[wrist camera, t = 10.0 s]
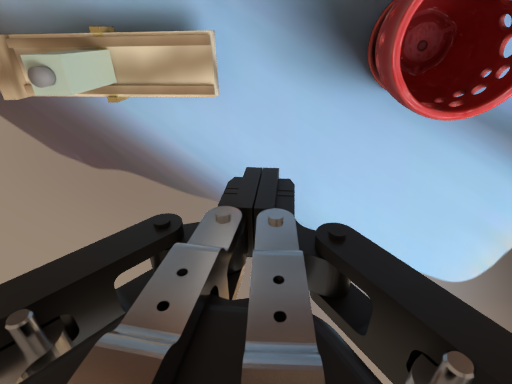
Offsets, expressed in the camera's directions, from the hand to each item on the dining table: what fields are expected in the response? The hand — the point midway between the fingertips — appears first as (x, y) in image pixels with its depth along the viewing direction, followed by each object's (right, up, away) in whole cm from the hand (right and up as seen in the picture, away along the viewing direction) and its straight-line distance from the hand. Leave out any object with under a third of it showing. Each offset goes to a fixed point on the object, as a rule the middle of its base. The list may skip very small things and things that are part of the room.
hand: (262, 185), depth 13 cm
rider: (-19, +15, +21) cm, 32 cm away
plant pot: (+19, +18, +21) cm, 34 cm away
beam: (-17, +18, +26) cm, 36 cm away
